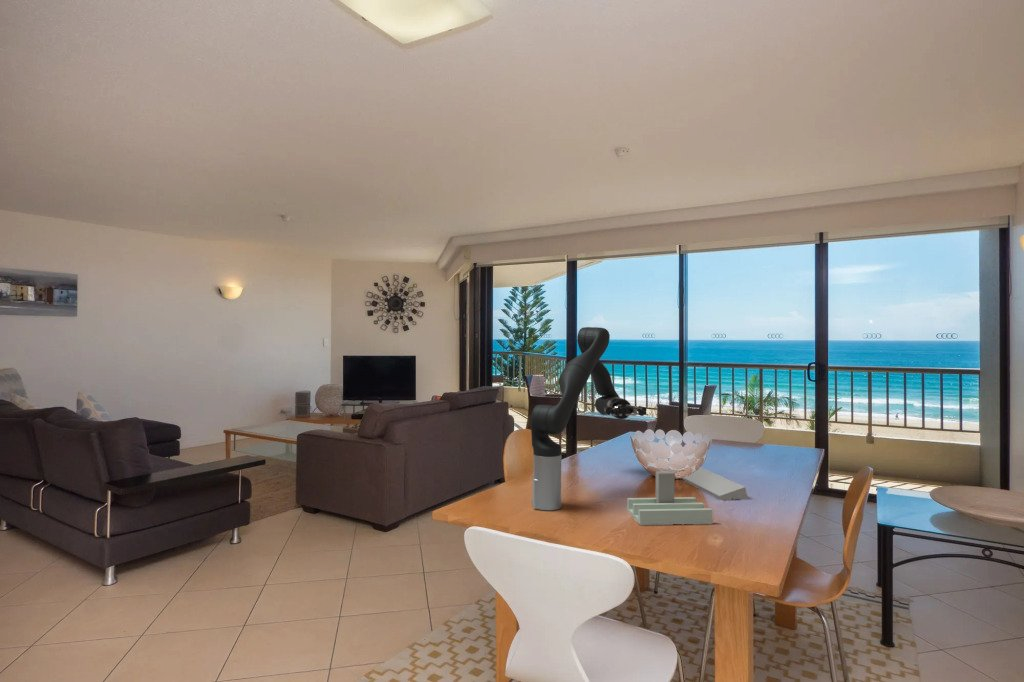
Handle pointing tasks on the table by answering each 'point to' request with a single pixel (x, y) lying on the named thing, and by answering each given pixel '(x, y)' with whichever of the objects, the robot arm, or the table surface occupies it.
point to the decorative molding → (716, 485)
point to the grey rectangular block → (664, 487)
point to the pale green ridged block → (669, 511)
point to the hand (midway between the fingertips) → (630, 412)
